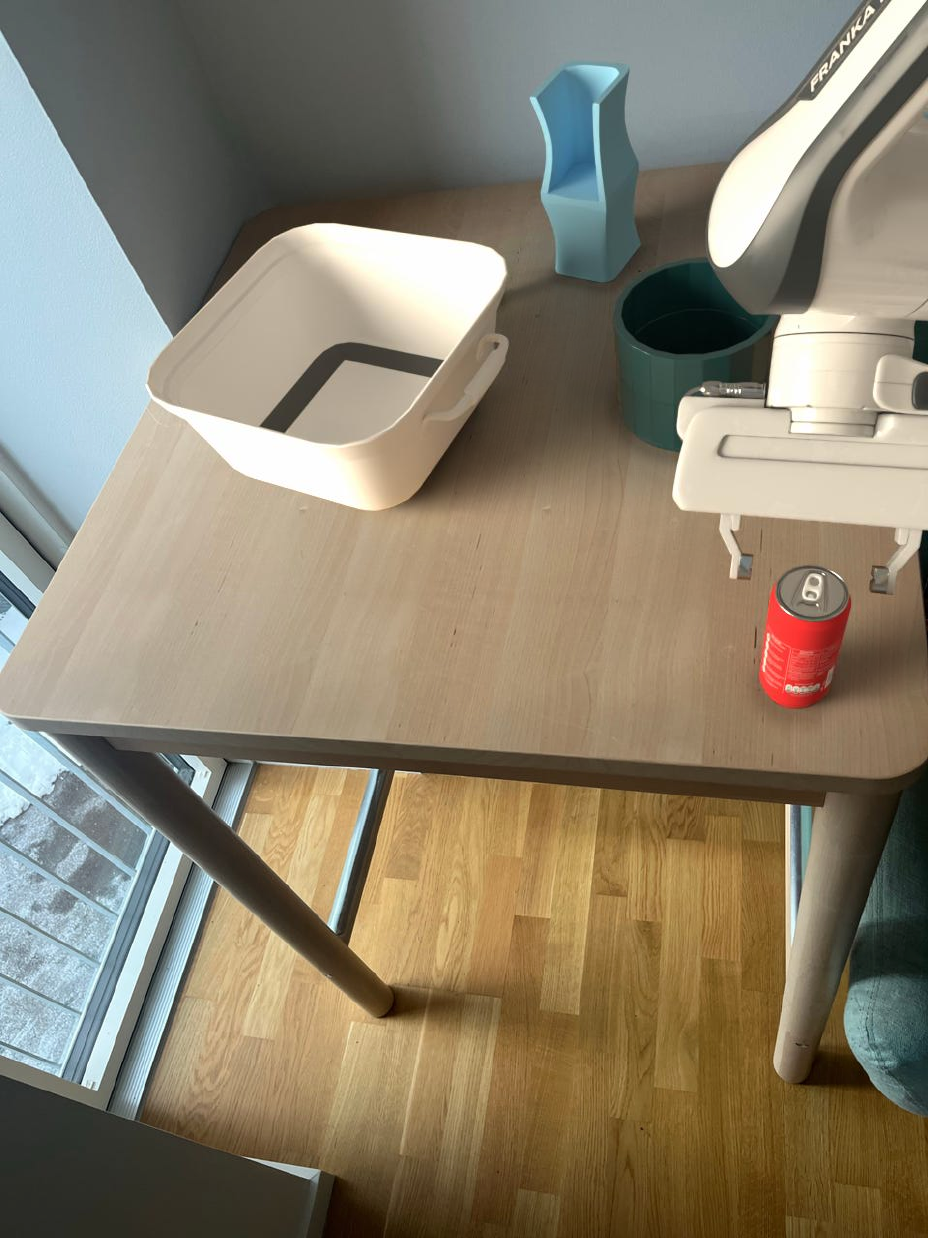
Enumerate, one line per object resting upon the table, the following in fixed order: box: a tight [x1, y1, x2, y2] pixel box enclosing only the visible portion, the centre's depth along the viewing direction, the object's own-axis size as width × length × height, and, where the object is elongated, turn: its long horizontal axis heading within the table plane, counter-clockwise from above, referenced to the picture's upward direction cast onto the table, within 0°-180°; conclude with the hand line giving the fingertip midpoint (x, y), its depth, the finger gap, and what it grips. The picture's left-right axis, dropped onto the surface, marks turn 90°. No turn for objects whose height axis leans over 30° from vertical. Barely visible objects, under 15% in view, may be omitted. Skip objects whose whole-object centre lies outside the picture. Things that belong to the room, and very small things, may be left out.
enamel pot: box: [611, 256, 782, 453], centre depth 86 cm, size 15×15×11 cm
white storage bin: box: [145, 222, 510, 512], centre depth 90 cm, size 34×29×15 cm
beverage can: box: [758, 564, 852, 710], centre depth 66 cm, size 5×5×12 cm
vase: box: [529, 59, 642, 283], centre depth 99 cm, size 8×8×20 cm
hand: (809, 585), depth 65 cm, fingers open, 8 cm apart
